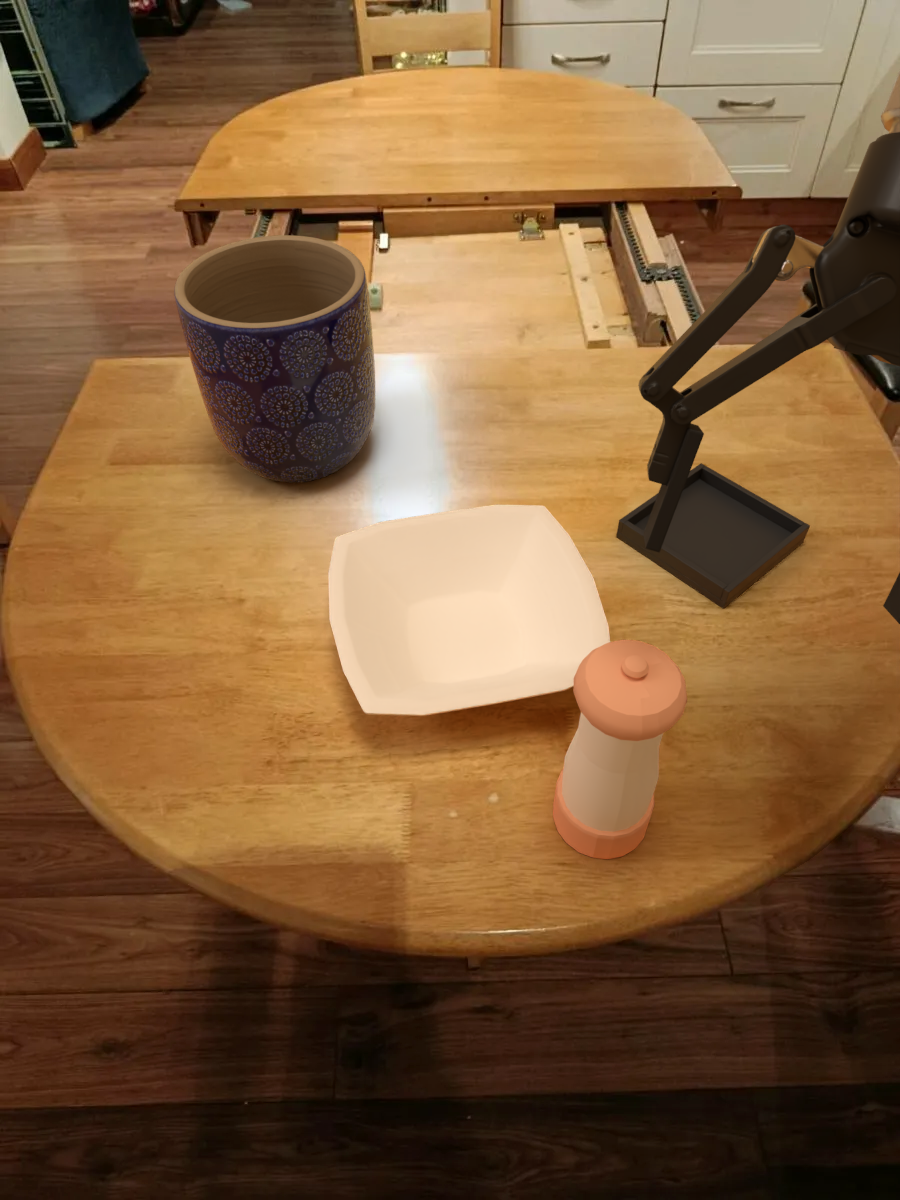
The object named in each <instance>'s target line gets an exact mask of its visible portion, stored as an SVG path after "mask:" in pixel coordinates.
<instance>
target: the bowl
mask: <svg viewBox="0 0 900 1200" xmlns="http://www.w3.org/2000/svg"><path fill="white" fill-rule="evenodd" d="M327 571H328V574H327V577H328V615H329V624H330V627H331V631H332V634H333V635H332V636H333V638H334V642H335V646H336V649H337V654H338V657H339V660H340V664H341V669H342V672H343V674H344V675H345V677H346V680H347V682H348V684H349V686H350V688H351V689H352V692H353V694H354V695H355V698H356V700H357V702H358V704H359V705H360V708H361V710H362V712H363V713H364V714H366V715H370V716H371V715H373V716H404V717H405V716H409V717H410V716H411V717H412V716H413V717H426V716H430V715H437V714H444V713H449V712H455V711H461V710H462V711H463V710H467V709H473V708H479V707H485V706H491V705H492V706H493V705H497V704H498V705H499V704H502V703H507V702H513V701H518V700H523V699H529V698H534V697H538V696H544V695H549V694H555V693H560V692H564V691H567V690H570V689H573V688H574V676H575V674H576V672H577V669H578V667H579V665H580V663H581V662H582V660H583V659H584V658H585V657H586V656H587V655H588V654H589V653H590V652H591V651H592V650H594V649H596V648H598V647H600V646H602V645H604V644H606V643H609V642H611V635H610V626H609V623H608V618H607V617H606V613H605V611H604V606H603V603H602V600H601V597H600V594H599V591H598V588H597V585H596V582H595V579H594V576H593V574H592V572H591V570H590V569H589V567H588V565H587V563H586V561H585V560H584V559H583V557H582V555H581V553H580V551H579V549H578V547H577V546H576V544H575V542H574V540H573V539H572V537H571V536H570V534H569V533H568V532H567V529H565V528H564V527H563V526H562V524H561V523H560V522H559V521H558V519H556V517H555V516H554V515H553V514H552V513H551V512H550V510H549V508H547V507H546V506H545V505H541V504H539V505H538V504H537V505H536V504H498V503H497V504H492V505H483V506H476V507H475V506H474V507H469V508H461V509H454V510H448V511H440V512H433V513H428V514H422V515H415V516H409V517H403V518H402V517H401V518H396V519H389V520H383V521H378V522H376V523H372V524H369V525H367V526H364V527H361V528H357V529H355V530H352V531H349V532H346V533H343V534H340V535H337V536H336V537H335V538H334V542H333V547H332V552H331V557H330V562H329V566H328V570H327Z"/></svg>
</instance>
